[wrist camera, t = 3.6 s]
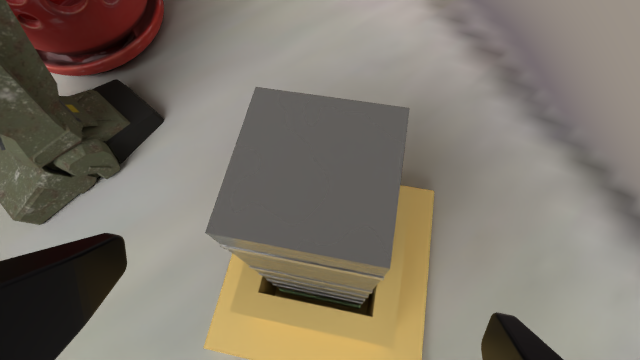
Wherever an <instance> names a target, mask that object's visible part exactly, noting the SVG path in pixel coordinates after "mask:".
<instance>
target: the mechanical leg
mask: <svg viewBox="0 0 640 360" xmlns="http://www.w3.org/2000/svg"><path fill="white" fill-rule="evenodd" d="M163 121H164V119H163V117H162V116H160V115H159V114H158V113H157V112H156V111H155V110H154V109H153V108H151V107H150V106H149V105H148V104H147V103H146V102H145V101H144V100H142V99H141V98H140V97H139V96H138V95H137V94H136V93H134V92H133V91H132V90H131V89H130V88H129V87H127V86H126V85H124V84H123V83H121V82H120V81H119V80H113V81H111V82H108V83H106V84H103V85H101V86H99V87H96V88H94V89H92V90H88V91H84V92H81V93H78V94H75V95H71V96H59V95H58V89H57V83H56V81H55V80H54V78H53V77H52V75H51V73H50V72H49V70H48V69H47V67H46V65H45V64H44V62H43V61H42V59H41V58H40V56H39V54H38V53H37V51H36V50H35V48H34V46H33V45H32V43H31V42H30V40H29V38H28V37H27V35H26V33H25V32H24V30H23V28H22V27H21V25H20V23H19V21H18V20H17V18H16V16H15V15H14V13H13V11H12V10H11V8H10V6H9V5H8V3H7V1H6V0H0V203H1V205H2V206H3V207H4V209H5V210H6V211H7V213H8V214H9V215H10V217H11V218H12V219H13V220H15V221H21V222H26V223H32V224H38V225H40V224H42V223H44V222H45V221H46V220H47V219H49V218H50V217H51V216H52V215H54V214H55V213H56V212H57V211H59V210H60V209H61V208H62V207H64V206H65V205H66V204H67V203H68V202H70V201H71V200H72V199H73V198H75V197H76V196H77V195H78V194H80V193H81V194H83V193H85V192H86V191H87V190H88V189H89V188H90V187H92V186H93V185H94V184H95V182H96V179H97V178H98V177H99V176H101V177H103V178H106V179H108V178H109V177H111V176H112V175H114V174H115V173H116V172H118V171H119V170H120V169H121V168H120V165H119V162H118V160H119V161H120V162H121V163H122V162H123V161H124V160H125V159H126V158H127V157H128V156H129V155H130V154H131V153H132V152H133V151H134V150H135V149H136V148H137V147H138V146H139V145H140V144H141V143H142V142H143V141H144V140H145V139H146V138H147V137H148V136H149V135H150V134H151V133H152V132H154V131H155V130H156V129H157V128H158V127H159V126H160V125H161V124H162V123H163ZM89 174H90V175H89Z"/></svg>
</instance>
